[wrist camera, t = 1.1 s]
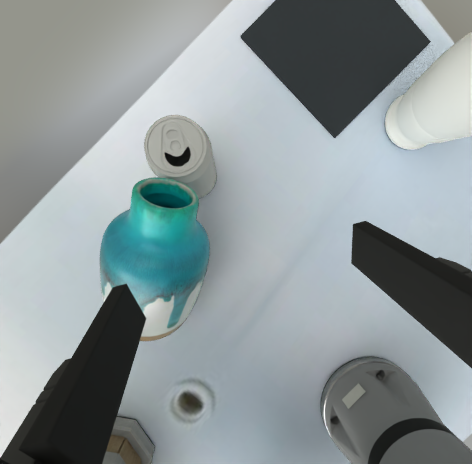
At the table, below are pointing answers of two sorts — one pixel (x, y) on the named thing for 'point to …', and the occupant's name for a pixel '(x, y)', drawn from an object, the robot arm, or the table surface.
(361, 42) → the mat
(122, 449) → the tankard
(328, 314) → the table surface
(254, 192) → the table surface
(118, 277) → the vase
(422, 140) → the jar
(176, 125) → the beverage can
